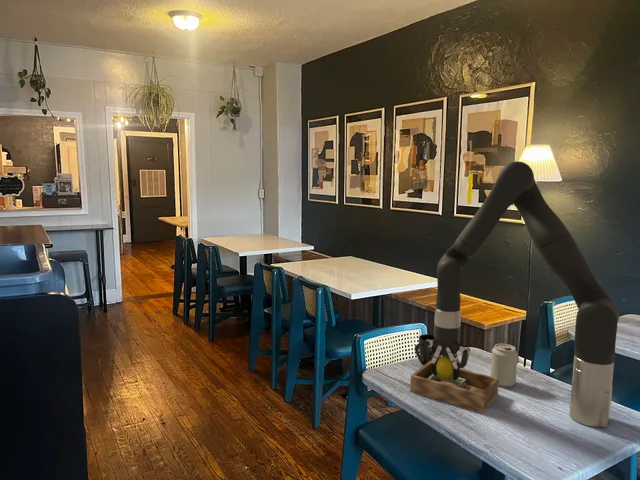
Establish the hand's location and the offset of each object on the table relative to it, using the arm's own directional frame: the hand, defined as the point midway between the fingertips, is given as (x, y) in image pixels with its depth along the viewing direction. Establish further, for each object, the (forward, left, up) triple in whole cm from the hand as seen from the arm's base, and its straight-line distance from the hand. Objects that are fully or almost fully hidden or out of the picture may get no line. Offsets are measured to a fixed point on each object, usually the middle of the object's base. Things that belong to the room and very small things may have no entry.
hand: (445, 376), depth 145 cm
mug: (+12, -14, -5) cm, 19 cm away
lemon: (0, 0, -1) cm, 1 cm away
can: (-13, -16, -5) cm, 21 cm away
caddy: (-3, 0, -4) cm, 5 cm away
